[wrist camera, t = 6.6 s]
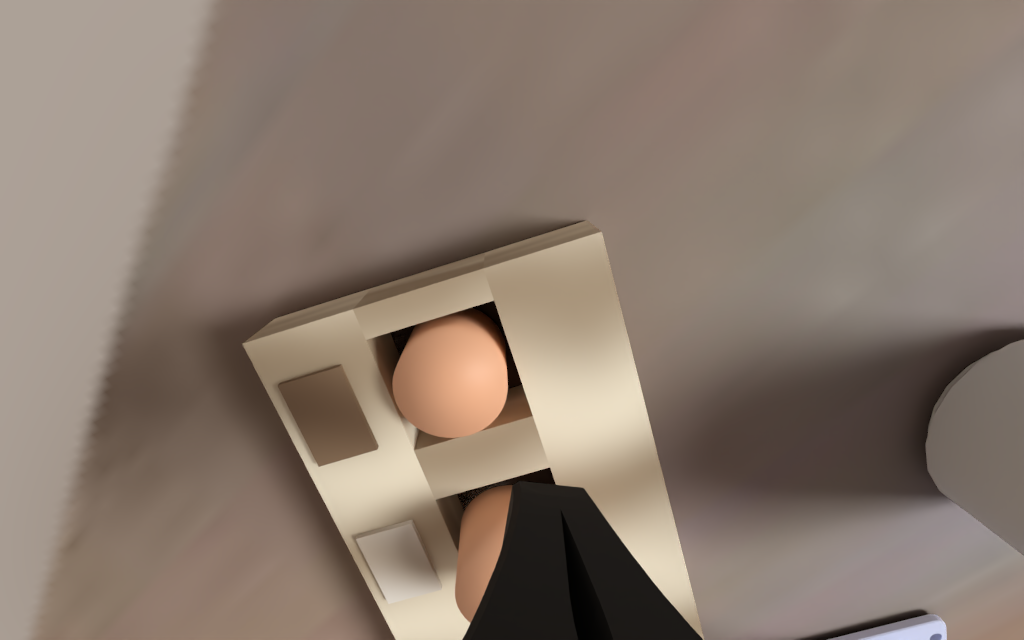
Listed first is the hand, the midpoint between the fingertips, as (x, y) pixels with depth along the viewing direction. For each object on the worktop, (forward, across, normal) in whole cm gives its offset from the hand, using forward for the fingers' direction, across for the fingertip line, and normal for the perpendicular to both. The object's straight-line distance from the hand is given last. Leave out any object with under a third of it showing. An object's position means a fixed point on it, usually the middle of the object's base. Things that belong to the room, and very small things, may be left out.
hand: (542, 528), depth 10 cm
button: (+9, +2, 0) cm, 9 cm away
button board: (+9, 0, +6) cm, 11 cm away
